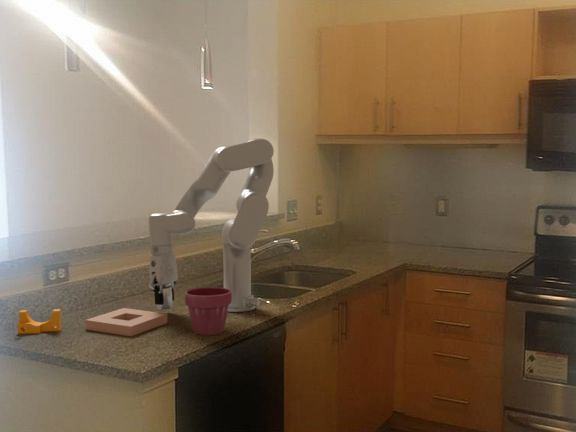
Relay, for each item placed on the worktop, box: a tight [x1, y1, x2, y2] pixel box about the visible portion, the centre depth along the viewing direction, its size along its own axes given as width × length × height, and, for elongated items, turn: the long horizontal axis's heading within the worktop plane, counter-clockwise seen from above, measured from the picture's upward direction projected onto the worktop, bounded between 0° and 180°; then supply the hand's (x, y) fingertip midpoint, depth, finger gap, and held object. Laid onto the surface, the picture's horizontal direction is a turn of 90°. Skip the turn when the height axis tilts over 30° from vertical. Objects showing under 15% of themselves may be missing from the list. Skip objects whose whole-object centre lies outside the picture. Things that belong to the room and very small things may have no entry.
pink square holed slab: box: [84, 307, 168, 337], centre depth 223 cm, size 18×18×3 cm
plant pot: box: [184, 286, 232, 336], centre depth 216 cm, size 14×14×13 cm
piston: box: [156, 282, 174, 311], centre depth 239 cm, size 5×5×9 cm
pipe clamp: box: [17, 308, 62, 335], centre depth 217 cm, size 12×4×6 cm, turn 96°
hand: (164, 301), depth 239 cm, fingers closed on piston, 5 cm apart
